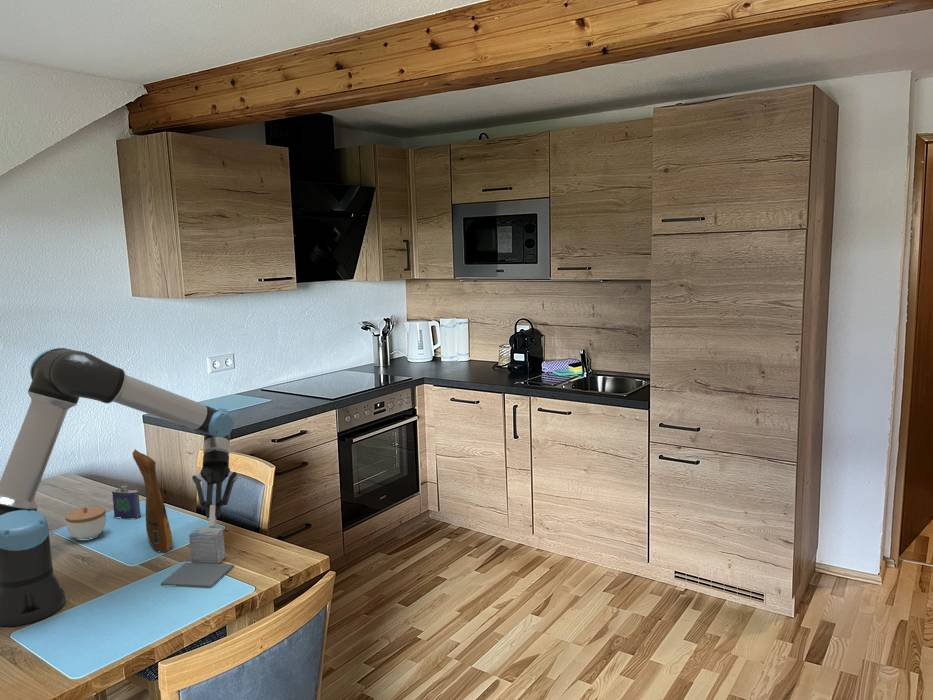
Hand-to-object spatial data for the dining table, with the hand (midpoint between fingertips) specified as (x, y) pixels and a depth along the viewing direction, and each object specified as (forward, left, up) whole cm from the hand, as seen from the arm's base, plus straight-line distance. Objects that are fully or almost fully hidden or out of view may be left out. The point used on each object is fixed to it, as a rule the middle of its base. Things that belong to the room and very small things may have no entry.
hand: (212, 527), depth 199 cm
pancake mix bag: (+2, +19, -7) cm, 20 cm away
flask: (+21, +42, -7) cm, 47 cm away
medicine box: (-7, -2, -7) cm, 10 cm away
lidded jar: (+5, +44, -7) cm, 44 cm away
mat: (-16, -4, -6) cm, 18 cm away
